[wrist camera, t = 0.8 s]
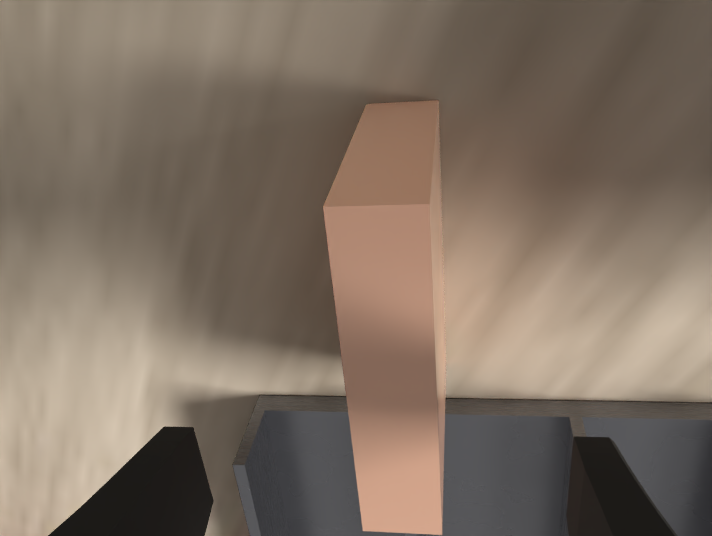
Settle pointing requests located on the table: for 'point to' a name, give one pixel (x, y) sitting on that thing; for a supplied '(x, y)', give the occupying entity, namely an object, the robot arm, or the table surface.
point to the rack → (474, 464)
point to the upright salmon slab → (392, 312)
